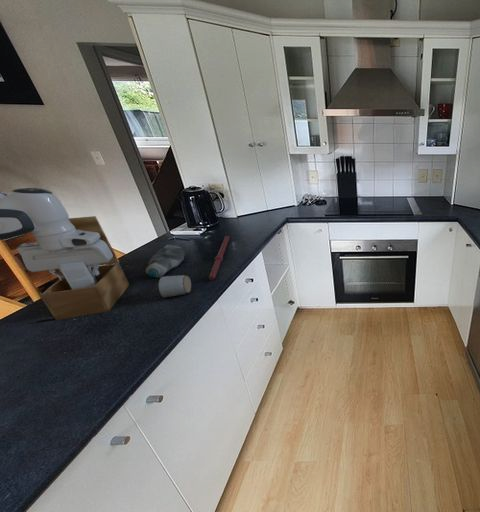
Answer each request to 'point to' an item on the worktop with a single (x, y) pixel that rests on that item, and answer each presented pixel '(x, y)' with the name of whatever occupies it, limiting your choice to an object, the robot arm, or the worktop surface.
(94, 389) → the worktop surface
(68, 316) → the chest
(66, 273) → the small box
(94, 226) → the lid
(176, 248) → the detergent
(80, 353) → the worktop surface
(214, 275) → the rolling pin
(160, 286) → the grey cylinder
